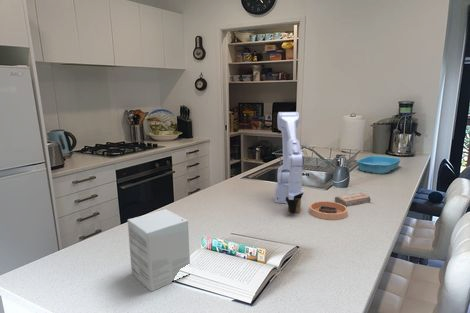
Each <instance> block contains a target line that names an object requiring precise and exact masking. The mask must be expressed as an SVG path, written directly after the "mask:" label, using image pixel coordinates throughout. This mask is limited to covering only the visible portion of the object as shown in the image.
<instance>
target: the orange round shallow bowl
mask: <svg viewBox="0 0 470 313" xmlns="http://www.w3.org/2000/svg"><path fill="white" fill-rule="evenodd" d="M320 206H327V207H335V208H337V213H322V212H319V208H320ZM348 210H349V208H348V206H344V205H342V204H340V203H336V202H330V200H329V201H327V200H326V201H323V200H320V201H315V202H311V203H310V204H309V207H308V212H309V214H310V215H311V216H312V217H314V218H317V219H321V220H326V221H327V220H329V221H339V220H344V219H345V218H347V216H348V215H349V214H348Z"/></svg>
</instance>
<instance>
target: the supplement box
mask: <svg viewBox="0 0 470 313" xmlns="http://www.w3.org/2000/svg"><path fill="white" fill-rule="evenodd" d="M127 231H128V244H129V255H130V268H131V269H130V270H131V274H132V275H133V276H134V277H135V278H136V279H137V281H139V282H140V283H141V284H143V286H144V287H145V288H147V289H148V291H149V292H154V291H156V290H158V289H160V288H163V287H164V286H167V285H169V284H172V283H173V282H172V281H173V280H174V278H175V276H176V275H177V273H178V272H179V270H180V269H181V268H183V267H185V266H186V265H188V264H190V265H191V256H190V255H191V254H190V242H189V241H190V238H189V234H190V233H189V220H188V219H186V218H184V217H182V216H181V215H179V214H177V213H175V212H172V211H170V210H168V209H167V208H165V209H161V210H158V211H154V212H150V213H148V214H144V215H140V216H136V217H133V218H128V219H127ZM171 282H172V283H171Z"/></svg>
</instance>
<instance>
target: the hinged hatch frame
mask: <svg viewBox="0 0 470 313" xmlns="http://www.w3.org/2000/svg"><path fill="white" fill-rule="evenodd" d="M319 212H322V213H337V208H335V207H327V206H320V208H319Z"/></svg>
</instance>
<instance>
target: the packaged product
mask: <svg viewBox="0 0 470 313" xmlns="http://www.w3.org/2000/svg"><path fill="white" fill-rule="evenodd" d="M371 200H372V199H371V197H370V195H369V194H368V193H364V192H357V193H349V194H344V195H343V194H342V195H337V196H335V197H334V200H329V202H336V203H340V204H342V205H344V206H346V207H351V206H352V207H353V206H358V205H362V204H363V205H364V204H375V203H374V202H371Z"/></svg>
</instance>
